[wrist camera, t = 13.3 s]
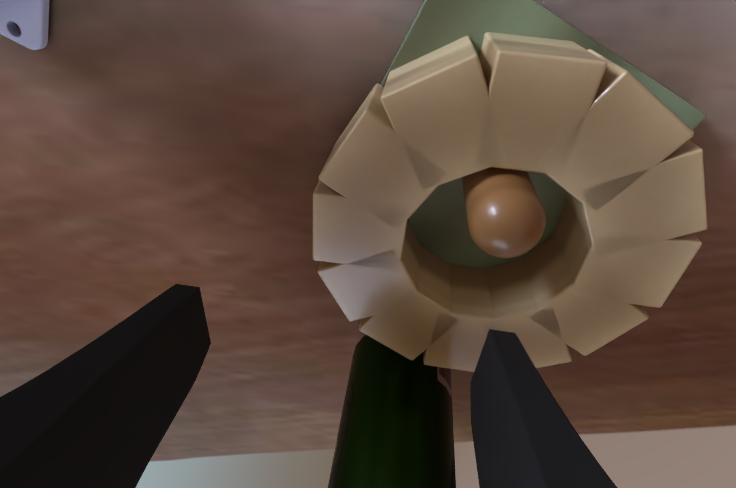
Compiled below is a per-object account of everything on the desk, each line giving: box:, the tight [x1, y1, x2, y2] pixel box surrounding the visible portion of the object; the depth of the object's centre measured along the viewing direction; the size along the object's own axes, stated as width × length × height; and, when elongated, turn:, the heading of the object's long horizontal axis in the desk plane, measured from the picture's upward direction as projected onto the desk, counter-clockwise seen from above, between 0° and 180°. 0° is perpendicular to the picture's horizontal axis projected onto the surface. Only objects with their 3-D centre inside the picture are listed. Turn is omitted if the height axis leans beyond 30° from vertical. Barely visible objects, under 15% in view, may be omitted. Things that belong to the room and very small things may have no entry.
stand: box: [380, 0, 707, 269], centre depth 14 cm, size 10×10×6 cm
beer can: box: [328, 335, 456, 488], centre depth 19 cm, size 5×5×12 cm
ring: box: [313, 32, 707, 372], centre depth 15 cm, size 13×13×3 cm
